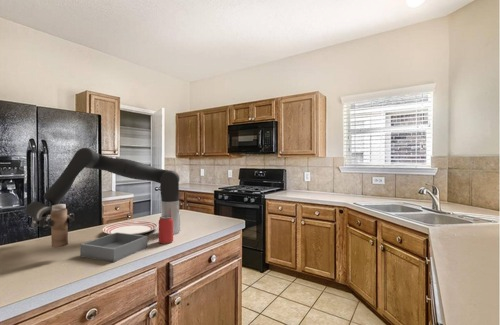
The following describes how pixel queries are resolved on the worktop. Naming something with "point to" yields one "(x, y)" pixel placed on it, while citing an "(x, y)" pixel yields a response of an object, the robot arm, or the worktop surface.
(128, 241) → the bin
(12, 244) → the worktop surface
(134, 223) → the dinner plate
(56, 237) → the pepper mill
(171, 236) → the beer can
